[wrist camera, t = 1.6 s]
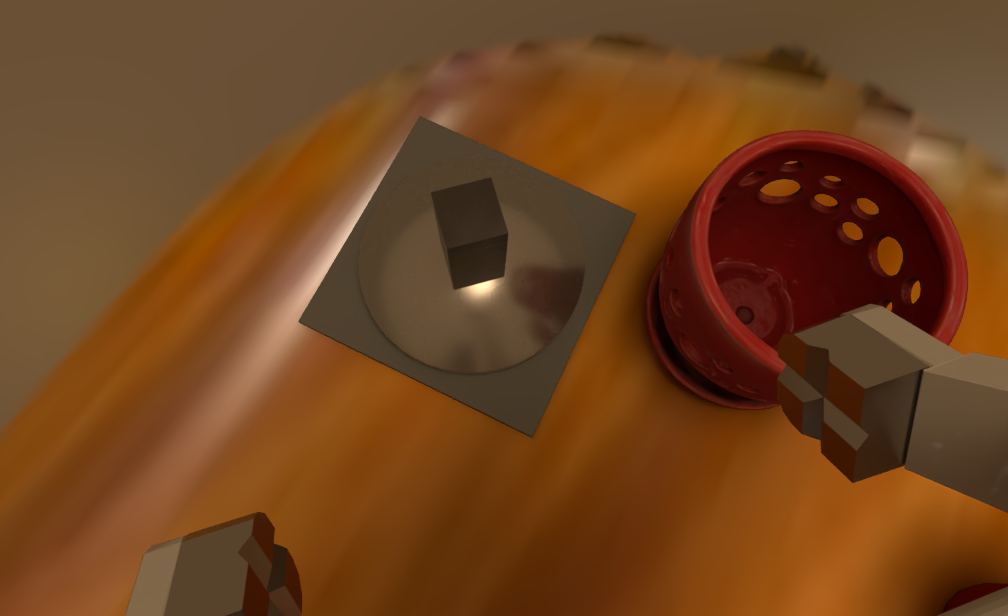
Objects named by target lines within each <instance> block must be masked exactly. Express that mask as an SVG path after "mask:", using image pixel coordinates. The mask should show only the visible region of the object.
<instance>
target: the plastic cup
mask: <svg viewBox="0 0 1008 616" xmlns="http://www.w3.org/2000/svg"><path fill="white" fill-rule="evenodd" d="M1006 587H1008V584H999V583H983V584H980V585H975V586H972V587H969V588H966V589H963V590H960V591H959V592H958V593H957V594H956V595H955V596H954V597H953V598H952V599H951V600H950V601H949V602H948V603H947V604H946V607H945V610H944V612H947V611H949V610H952V609H954V608H956V607H959V606H961V605H964V604H966V603H969V602H971V601H974V600H976V599H979V598H981V597H983V596H986V595H988V594H991V593H993V592H996V591H998V590H1001V589H1003V588H1006Z"/></svg>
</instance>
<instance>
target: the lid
mask: <svg viewBox="0 0 1008 616" xmlns="http://www.w3.org/2000/svg"><path fill="white" fill-rule="evenodd" d="M358 268H359V280H360V286H361V290H362V294H363V297H364V300H365V303H366V305H367V307H368V309H369V311H370V313H371V315H372V317H373V319H374V320H375V322H376V323H377V325H378V326H379V328H380V329H381V330H382V332H383V333H384V334H385V335H386V336H387V338H388V339H389V340H390V341H391V342H392V343H393V344H394V345H395V346H396V347H398V348H399V349H400V350H401V351H402V352H403V353H405V354H406V355H408V356H409V357H411V358H412V359H414V360H416V361H418V362H420V363H422V364H424V365H426V366H428V367H431V368H434V369H437V370H440V371H443V372H448V373H454V374H461V375H481V374H490V373H495V372H500V371H504V370H507V369H510V368H512V367H515V366H518V365H520V364H522V363H524V362H526V361H528V360H529V359H531V358H533V357H534V356H536V355H537V354H538V353H540V352H541V351H543V350H544V349H545V348H546V347H547V346H548V345H549V344H550V343H552V342H553V341H554V339H555V338H556V337H557V336H558V335H559V333H560V332H561V331H562V330H563V328H564V327H565V325H566V324H567V322H568V320H569V319H570V317H571V315H572V313H573V311H574V309H575V307H576V305H577V302H578V300H579V297H580V293H581V290H582V287H583V280H584V274H585V256H584V248H583V243H582V239H581V235H580V231H579V229H578V227H577V224H576V222H575V220H574V218H573V216H572V214H571V212H570V211H569V209H568V207H567V206H566V205H565V203H564V202H563V201H562V199H561V198H560V197H559V196H558V195H557V194H556V193H555V192H554V191H553V190H552V189H551V188H550V187H549V186H548V185H547V184H546V183H544V182H543V181H542V180H540V179H539V178H538V177H536V176H535V175H533V174H531V173H529V172H528V171H526V170H524V169H522V168H519V167H517V166H515V165H512V164H509V163H506V162H502V161H499V160H493V159H487V158H472V157H471V158H457V159H451V160H446V161H441V162H438V163H435V164H432V165H429V166H427V167H425V168H422V169H420V170H418V171H416V172H414V173H413V174H411V175H409V176H408V177H406V178H404V179H403V180H402V181H401V182H399V183H398V184H397V185H396V186H394V187H393V188H392V189H391V190H390V191H389V192H388V193H387V194H386V195H385V196H384V198H383V199H382V200H381V201H380V203H379V204H378V205H377V207H376V208H375V210H374V212H373V213H372V215H371V217H370V219H369V220H368V223H367V225H366V228H365V230H364V233H363V236H362V240H361V244H360V250H359V259H358Z"/></svg>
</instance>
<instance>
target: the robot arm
mask: <svg viewBox="0 0 1008 616" xmlns="http://www.w3.org/2000/svg"><path fill="white" fill-rule="evenodd" d="M778 357H779V358H780V359H781V360H782V361H783V362H784V363H785V364H786V366H785V367H784V369H783V371H782V372H781V374H780V375H779V377H778V378H777V396H778V398H779V401H780V404H781V407H782V410H783V412H784V413H785V415H786V416H787V418H788V419H789V421H790V422H791V424H792V425H793V426H794V427H795V428H796V429H797V430H798V431H799V432H800V433H801V434H804V435H807V436H810V437H813V438H815V439H818V440H820V441H821V453H822V454H823V455H824V456H825V457H826V458H827V459H828V460H829V461H830V462H831V463H832V464H833V465H834V466H835V467H836V468H837V469H838V470H840V471H841V472H842V473H843V474H844V475H845V476H846V477H847V478H848V479H849V480H850V481H851V482H852V483H854V482H857V481H860V480H863V479H866V478H869V477H872V476H875V475H878V474H881V473H884V472H887V471H890V470H893V469H896V468H899V467H901V466H904V465H905V469H907V470H909V471H912V472H914V473H916V474H919V475H921V476H923V477H926V478H928V479H930V480H933V481H935V482H937V483H940V484H942V485H944V486H947V487H949V488H951V489H954V490H956V491H958V492H961V493H963V494H965V495H968V496H970V497H972V498H975V499H977V500H979V501H982V502H984V503H986V504H989V505H991V506H993V507H995V508H998V509H1000V510H1002V511H1005V512H1007V513H1008V359H1003V358H998V357H993V356H988V355H983V354H978V353H971V354H968V355H965V356H964V355H962V354H961V353H959V352H957V351H956V350H954V349H952V348H951V347H949V346H947V345H946V344H944V343H942V342H941V341H939V340H937V339H936V338H934V337H932V336H931V335H929V334H927V333H926V332H924V331H922V330H921V329H919V328H917V327H916V326H914V325H912V324H911V323H909V322H907V321H906V320H904V319H902V318H901V317H899V316H897V315H896V314H894V313H892V312H891V311H889V310H887V309H886V308H884V307H882V306H879V305H874V304H868V305H866V306H863V307H860V308H857V309H854V310H852V311H849V312H846V313H843V314H841V315H840V316H836V317H833V318H830V319H827V320H824V321H822V322H819V323H816V324H813V325H810V326H807V327H804V328H801V329H798V330H796V331H793V332H790V333H787V334H784V335H783V336H782V338H781V340H780V342H779V347H778ZM274 533H275V528H274V526H273V525H272V523H271V522H270V520H269V519H268V517H267V516H266V514H265V513H261V512H257V513H253V514H250V515H247V516H244V517H241V518H237V519H234V520H231V521H228V522H225V523H221V524H218V525H215V526H212V527H209V528H205V529H202V530H199V531H196V532H193V533H189V534H188V535H186V536H182V537H179V538H176V539H173V540H169V541H166V542H163V543H160V544H157V545H153V546H151V547H150V549H149V550H148V551H147V552H146V553H145V554H144V556H143V558H142V562H141V565H140V568H139V571H138V575H137V578H136V581H135V584H134V588H133V591H132V594H131V597H130V601H129V604H128V607H127V610H126V613H125V616H301V614H302V591H301V585H300V579H299V574H298V571H297V568H296V565H295V563H294V560H293V558H292V556H291V555H290V553H289V551H288V549H287V548H284V547H282V546H279V545H277V544H274ZM937 616H1008V587H1006V588H1003V589H1001V590H998V591H996V592H993V593H991V594H988V595H986V596H983V597H981V598H979V599H976V600H974V601H971V602H969V603H966V604H964V605H961V606H959V607H956V608H954V609H952V610H949V611H947V612H944V613H942V614H939V615H937Z"/></svg>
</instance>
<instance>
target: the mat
mask: <svg viewBox="0 0 1008 616" xmlns="http://www.w3.org/2000/svg"><path fill="white" fill-rule="evenodd" d="M471 157H472V158H487V159H493V160H499V161H502V162H506V163H509V164H512V165H515V166H517V167H519V168H522V169H524V170H526V171H528V172H529V173H531V174H533V175H535V176H536V177H538V178H539V179H540V180H542V181H543V182H544V183H546V184H547V185H548V186H549V187H550V188H551V189H552V190H553V191H554V192H555V193H556V194H557V195H558V196H559V197H560V198H561V199H562V201H563V202H564V203H565V205H566V206H567V207H568V209H569V211H570V212H571V214H572V216H573V218H574V220H575V222H576V224H577V227H578V229H579V231H580V235H581V239H582V243H583V248H584V256H585V274H584V280H583V287H582V290H581V293H580V297H579V300H578V302H577V305H576V307H575V309H574V311H573V313H572V315H571V317H570V319H569V320H568V322H567V324H566V325H565V327H564V328H563V330H562V331H561V332H560V333H559V335H558V336H557V337H556V338H555V339H554V341H553V342H552V343H550V344H549V345H548V346H547V347H546V348H545V349H544V350H543V351H541V352H540V353H538V354H537V355H536V356H534V357H533V358H531V359H529V360H528V361H526V362H524V363H522V364H520V365H518V366H515V367H512V368H510V369H507V370H504V371H500V372H495V373H490V374H481V375H461V374H454V373H448V372H443V371H440V370H437V369H434V368H431V367H428V366H426V365H424V364H422V363H420V362H418V361H416V360H414V359H412V358H411V357H409V356H408V355H406V354H405V353H403V352H402V351H401V350H400V349H399V348H398V347H396V346H395V345H394V344H393V343H392V342H391V341H390V340H389V339H388V338H387V336H386V335H385V334H384V333H383V332H382V330H381V329H380V328H379V326H378V325H377V323H376V322H375V320H374V319H373V317H372V315H371V313H370V311H369V309H368V307H367V305H366V303H365V300H364V297H363V294H362V290H361V286H360V280H359V268H358V259H359V250H360V244H361V240H362V236H363V233H364V230H365V228H366V225H367V223H368V220H369V219H370V217H371V215H372V213H373V212H374V210H375V208H376V207H377V205H378V204H379V203H380V201H381V200H382V199H383V198H384V196H385V195H386V194H387V193H388V192H389V191H390V190H391V189H392V188H393V187H394V186H396V185H397V184H398V183H399V182H401V181H402V180H403V179H404V178H406V177H408V176H409V175H411V174H413V173H414V172H416V171H418V170H420V169H422V168H425V167H427V166H429V165H432V164H435V163H438V162H441V161H446V160H451V159H457V158H471ZM635 215H636V214H635V213H633V212H631V211H629V210H626V209H624V208H622V207H620V206H618V205H615V204H613V203H611V202H609V201H607V200H604V199H602V198H600V197H598V196H595V195H593V194H591V193H589V192H587V191H584V190H582V189H580V188H578V187H576V186H573V185H571V184H569V183H567V182H565V181H562V180H560V179H558V178H556V177H553V176H551V175H549V174H547V173H545V172H542V171H540V170H538V169H536V168H534V167H531V166H529V165H527V164H525V163H523V162H520V161H518V160H516V159H514V158H511V157H509V156H507V155H505V154H503V153H500V152H498V151H496V150H494V149H492V148H489V147H487V146H485V145H483V144H480V143H478V142H476V141H474V140H472V139H469V138H467V137H465V136H463V135H461V134H458V133H456V132H454V131H452V130H450V129H447V128H445V127H443V126H441V125H438V124H436V123H434V122H432V121H430V120H427V119H425V118H423V117H421V116H420V117H419V119H418V120H417V122H416V124H415V126H414V127H413V129H412V131H411V132H410V134H409V136H408V137H407V139H406V141H405V142H404V144H403V146H402V147H401V149H400V151H399V153H398V154H397V156H396V158H395V159H394V161H393V163H392V164H391V166H390V168H389V169H388V171H387V173H386V174H385V176H384V178H383V179H382V181H381V183H380V185H379V186H378V188H377V190H376V191H375V193H374V195H373V196H372V198H371V200H370V201H369V203H368V205H367V206H366V208H365V210H364V212H363V213H362V215H361V217H360V218H359V220H358V222H357V223H356V225H355V227H354V228H353V230H352V232H351V233H350V235H349V237H348V239H347V240H346V242H345V244H344V245H343V247H342V249H341V250H340V252H339V254H338V255H337V257H336V259H335V260H334V262H333V264H332V265H331V267H330V269H329V271H328V272H327V274H326V276H325V277H324V279H323V281H322V282H321V284H320V286H319V287H318V289H317V291H316V292H315V294H314V296H313V298H312V299H311V301H310V303H309V304H308V306H307V308H306V309H305V311H304V313H303V314H302V316H301V318H300V319H299V322H300V323H302V324H304V325H306V326H308V327H310V328H312V329H314V330H316V331H318V332H320V333H322V334H324V335H326V336H328V337H330V338H332V339H334V340H336V341H338V342H340V343H342V344H344V345H346V346H348V347H350V348H352V349H354V350H356V351H358V352H360V353H362V354H364V355H366V356H368V357H370V358H372V359H374V360H376V361H379V362H381V363H383V364H385V365H387V366H389V367H391V368H393V369H395V370H397V371H399V372H401V373H403V374H405V375H407V376H409V377H411V378H413V379H415V380H417V381H419V382H421V383H423V384H425V385H427V386H429V387H431V388H433V389H435V390H437V391H439V392H441V393H443V394H445V395H447V396H449V397H451V398H453V399H455V400H457V401H459V402H461V403H464V404H466V405H468V406H470V407H472V408H474V409H476V410H478V411H480V412H482V413H484V414H486V415H488V416H490V417H492V418H494V419H496V420H498V421H500V422H502V423H504V424H506V425H508V426H510V427H512V428H514V429H516V430H518V431H520V432H522V433H524V434H526V435H528V436H530V437H533V435H534V433H535V431H536V429H537V427H538V425H539V422H540V420H541V418H542V416H543V414H544V412H545V410H546V407H547V405H548V403H549V401H550V399H551V397H552V394H553V392H554V390H555V388H556V386H557V384H558V381H559V379H560V377H561V375H562V373H563V371H564V369H565V366H566V364H567V362H568V360H569V358H570V356H571V353H572V351H573V349H574V347H575V345H576V343H577V340H578V338H579V336H580V334H581V332H582V330H583V327H584V325H585V323H586V321H587V319H588V317H589V315H590V312H591V310H592V308H593V306H594V304H595V302H596V299H597V297H598V295H599V293H600V291H601V289H602V286H603V284H604V282H605V280H606V278H607V276H608V274H609V271H610V269H611V267H612V265H613V263H614V261H615V258H616V256H617V254H618V252H619V250H620V248H621V245H622V243H623V241H624V239H625V237H626V235H627V233H628V230H629V228H630V226H631V224H632V222H633V220H634V217H635Z"/></svg>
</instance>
